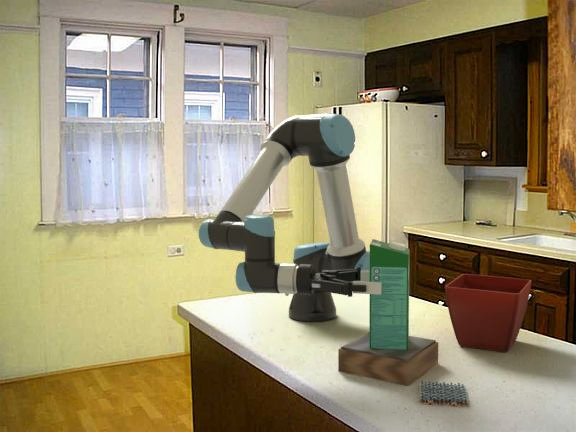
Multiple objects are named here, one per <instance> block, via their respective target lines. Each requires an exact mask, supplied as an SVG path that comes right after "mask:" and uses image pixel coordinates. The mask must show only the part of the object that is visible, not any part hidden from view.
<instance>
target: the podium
mask: <svg viewBox="0 0 576 432" xmlns="http://www.w3.org/2000/svg"><path fill="white" fill-rule="evenodd" d="M337 351H338V355H337V357H338V359H337V360H338V368H337V370H338V372H340V373H345V374H350V375H355V376H360V377H364V378H369V379H373V380H379V381H385V382H388V383H391V384H393V383H394V384H399V385H402V386H410V385H411V384H412V383H414V382H415V381H417V380H418V379H419V378H420V377H422V376H424V375H425V374H426V373H427V372H428V371H430V370H431V369H433V368H434V367H435V366H437V365H438V364H439V341H437V340H436V339H430V338H424V337H418V336H417V337H416V336H412V335H409V343H408V350H398V349H377V348H369V332H368V333H365V334H363V335H361V336H359V337H358V338H356V339H354V340H352V341H350V342H348V343H346V344H343V345H342V346H340V348H338V349H337Z"/></svg>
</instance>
